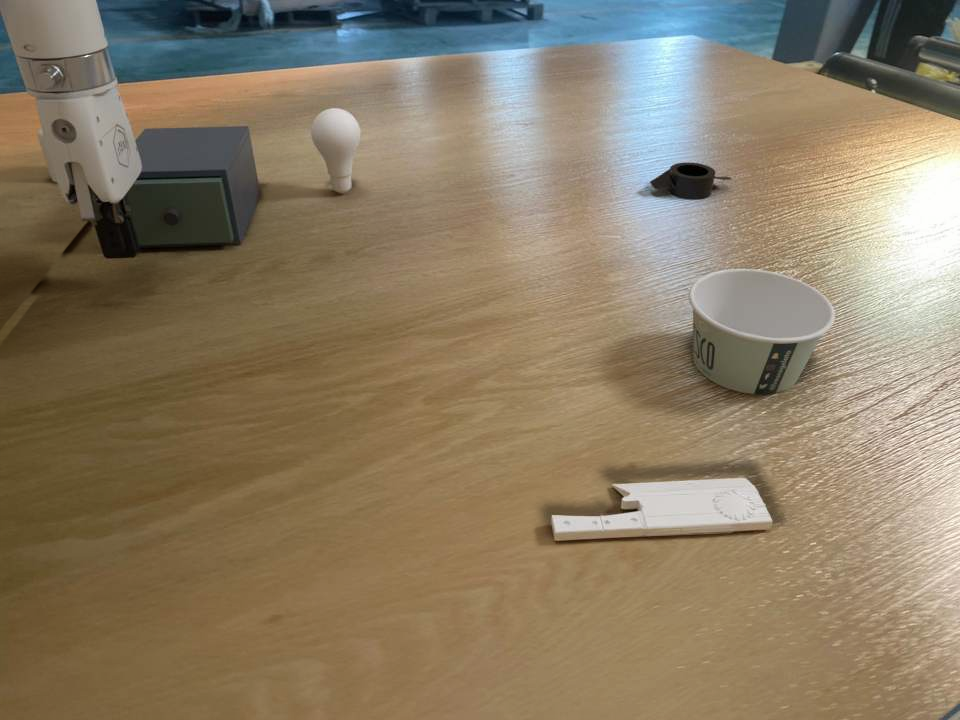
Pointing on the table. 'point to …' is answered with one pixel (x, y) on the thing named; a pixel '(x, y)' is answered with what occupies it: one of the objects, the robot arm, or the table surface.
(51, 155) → the robot arm
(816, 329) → the food container
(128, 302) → the table surface
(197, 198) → the drawer
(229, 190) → the cabinet
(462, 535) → the table surface
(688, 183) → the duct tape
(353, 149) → the lightbulb
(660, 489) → the butcher knife
